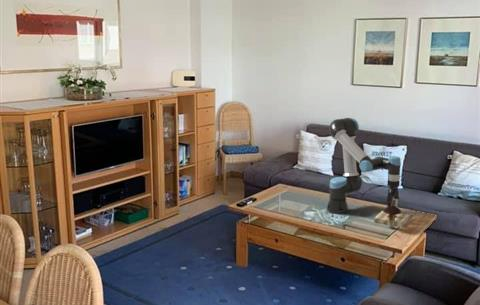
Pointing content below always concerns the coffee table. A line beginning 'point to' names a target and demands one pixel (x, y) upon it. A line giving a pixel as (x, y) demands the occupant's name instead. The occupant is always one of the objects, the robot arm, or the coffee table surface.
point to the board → (384, 217)
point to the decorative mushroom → (392, 214)
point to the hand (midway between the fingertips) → (392, 211)
